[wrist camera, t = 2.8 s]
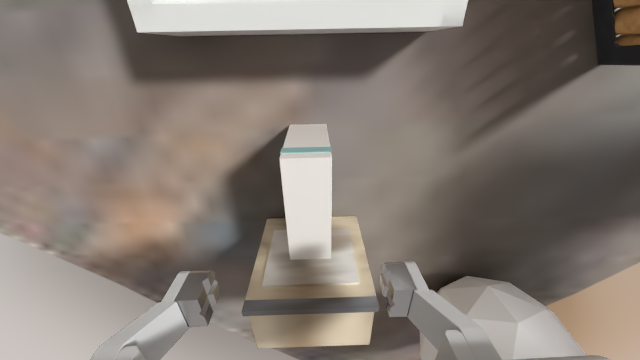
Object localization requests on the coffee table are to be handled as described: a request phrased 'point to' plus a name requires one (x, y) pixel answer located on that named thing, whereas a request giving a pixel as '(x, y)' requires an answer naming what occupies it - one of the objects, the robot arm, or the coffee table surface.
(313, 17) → the tray
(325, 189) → the teal-striped white carton
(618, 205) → the coffee table surface
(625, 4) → the ammunition clip
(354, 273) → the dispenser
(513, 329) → the geodesic sphere
